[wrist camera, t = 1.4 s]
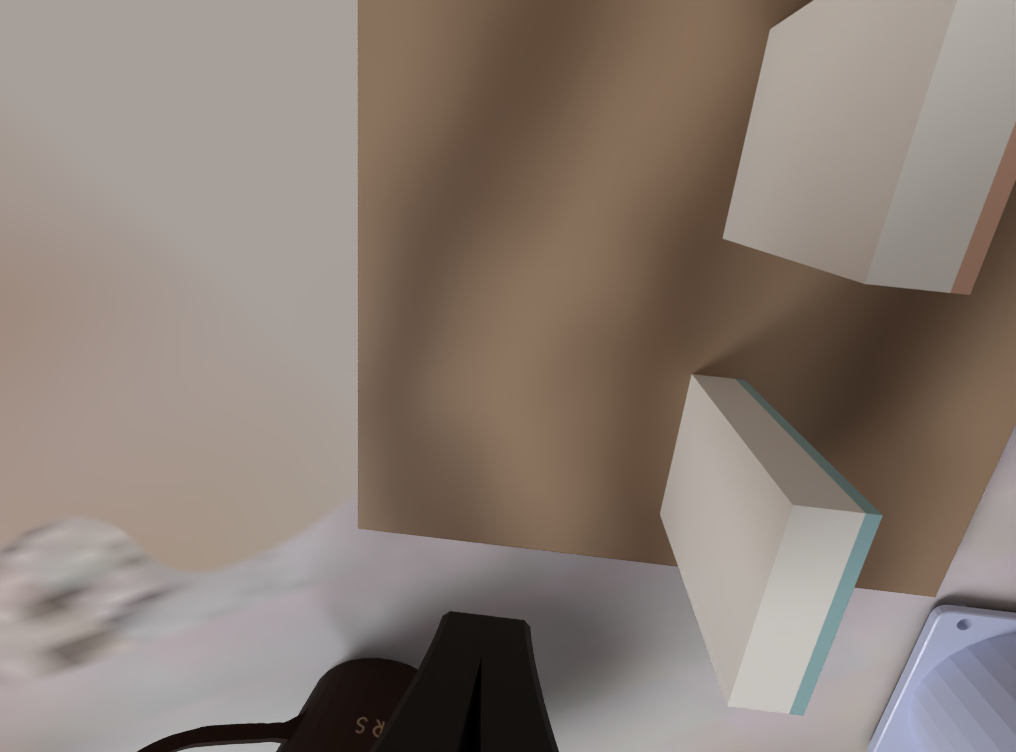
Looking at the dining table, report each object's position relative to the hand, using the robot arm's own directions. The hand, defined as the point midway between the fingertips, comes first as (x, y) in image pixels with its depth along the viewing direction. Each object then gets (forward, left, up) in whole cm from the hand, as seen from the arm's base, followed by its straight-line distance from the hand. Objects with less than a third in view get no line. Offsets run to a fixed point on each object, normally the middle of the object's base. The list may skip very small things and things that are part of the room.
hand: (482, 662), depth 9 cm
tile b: (-6, -9, -9) cm, 14 cm away
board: (-5, -4, -10) cm, 12 cm away
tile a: (-6, 0, -9) cm, 11 cm away
